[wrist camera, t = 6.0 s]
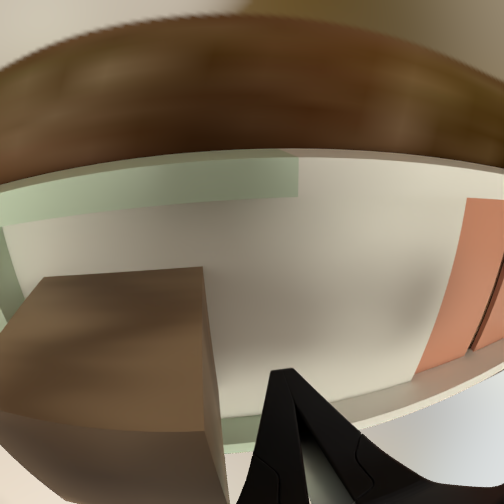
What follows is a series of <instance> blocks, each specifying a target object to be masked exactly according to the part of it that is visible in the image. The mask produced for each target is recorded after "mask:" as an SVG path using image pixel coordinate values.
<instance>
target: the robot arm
mask: <svg viewBox="0 0 504 504" xmlns="http://www.w3.org/2000/svg"><path fill="white" fill-rule="evenodd" d="M308 495H309V497H308ZM309 498H310V501H311V504H504V484H502V485H499V486H495V487H472V486H459V485H450V484H441V483H436V482H433V481H430V480H427V479H425V478H424V477H422V476H420V475H418V474H417V473H415V472H414V471H412V470H410V469H409V468H407V467H406V466H404V465H403V464H401V463H400V462H398V461H397V460H395V459H394V458H392V457H391V456H389V455H388V454H386V453H385V452H384V451H382V450H381V449H380V448H379V447H377V446H376V445H375V444H374V443H373V442H371V441H370V440H369V439H368V438H367V437H366V436H365V435H364V434H361V432H360V431H359V430H358V429H357V428H356V427H355V426H354V425H352V424H351V423H350V422H349V421H348V420H347V419H346V418H345V417H344V416H343V415H342V414H341V413H340V412H338V411H337V410H336V409H335V408H334V407H333V406H332V405H331V404H330V403H329V402H328V401H327V400H326V399H325V398H324V397H323V396H322V395H321V394H320V393H318V392H317V391H316V390H315V389H314V388H313V387H312V386H311V385H310V384H309V383H308V382H307V381H306V380H305V379H304V378H303V377H302V376H301V375H300V374H299V373H298V372H297V371H296V370H295V369H294V368H284V369H277V370H271V371H270V375H269V380H268V385H267V390H266V395H265V400H264V405H263V409H262V414H261V419H260V424H259V428H258V433H257V438H256V442H255V447H254V451H253V456H252V459H251V464H250V468H249V471H248V475H247V478H246V481H245V484H244V487H243V489H242V492H241V494H240V496H239V499H238V501H237V503H236V504H309Z"/></svg>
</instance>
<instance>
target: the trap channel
mask: <svg viewBox="0 0 504 504" xmlns="http://www.w3.org/2000/svg"><path fill="white" fill-rule="evenodd" d="M503 253H504V169H503V168H498V167H493V166H487V165H482V164H476V163H470V162H464V161H458V160H451V159H444V158H436V157H429V156H420V155H411V154H401V153H390V152H377V151H362V150H342V149H302V148H280V149H241V150H220V151H205V152H192V153H180V154H169V155H160V156H151V157H143V158H135V159H127V160H120V161H113V162H107V163H100V164H94V165H88V166H83V167H77V168H72V169H67V170H62V171H57V172H52V173H47V174H43V175H38V176H34V177H30V178H25V179H21V180H17V181H13V182H10V183H6V184H2V185H0V333H1V331H2V330H3V329H4V327H5V326H6V324H7V323H8V322H9V320H10V319H11V318H12V316H13V315H14V314H15V312H16V311H17V310H18V308H19V307H20V306H21V304H22V303H23V302H24V301H25V299H26V298H27V297H28V296H29V294H30V293H31V292H32V291H33V289H34V288H35V287H36V286H37V284H38V283H39V282H40V281H41V280H42V278H43V277H50V276H67V275H83V274H98V273H114V272H129V271H143V270H158V269H172V268H186V267H200V266H203V274H204V283H205V292H206V301H207V309H208V317H209V325H210V333H211V341H212V348H213V355H214V362H215V369H216V376H217V383H218V390H219V402H220V414H221V426H222V436H223V447H224V454H230V453H241V452H250V451H254V447H255V442H256V438H257V433H258V428H259V424H260V419H261V414H262V409H263V405H264V400H265V395H266V390H267V385H268V380H269V375H270V371H271V370H277V369H284V368H294V369H295V370H296V371H297V372H298V373H299V374H300V375H301V376H302V377H303V378H304V379H305V380H306V381H307V382H308V383H309V384H310V385H311V386H312V387H313V388H314V389H315V390H316V391H317V392H318V393H320V394H321V395H322V396H323V397H324V398H325V399H326V400H327V401H328V402H329V403H330V404H331V405H332V406H333V407H334V408H335V409H336V410H337V411H338V412H340V413H341V414H342V415H343V416H344V417H345V418H346V419H347V420H348V421H349V422H350V423H351V424H352V425H354V426H355V427H356V428H357V429H358V430H361V429H365V428H368V427H371V426H374V425H378V424H381V423H384V422H387V421H390V420H393V419H396V418H399V417H401V416H404V415H407V414H410V413H412V412H415V411H417V410H420V409H422V408H425V407H427V406H430V405H432V404H435V403H437V402H439V401H442V400H444V399H446V398H448V397H451V396H453V395H455V394H457V393H459V392H461V391H463V390H465V389H467V388H469V387H471V386H473V385H475V384H477V383H479V382H481V381H483V380H485V379H487V378H488V377H490V376H492V375H494V374H496V373H497V372H499V371H501V370H503V369H504V263H503V266H502V269H501V272H500V275H499V279H498V282H497V285H496V287H495V290H494V293H493V296H492V299H491V301H490V304H489V307H488V309H487V312H486V314H485V317H484V319H483V321H482V324H481V326H480V328H479V331H478V333H477V335H476V337H475V340H474V342H473V344H472V346H471V348H470V349H468V347H469V345H470V343H471V341H472V339H473V336H474V334H475V332H476V330H477V327H478V325H479V323H480V320H481V318H482V315H483V313H484V310H485V308H486V305H487V302H488V300H489V297H490V294H491V291H492V289H493V286H494V283H495V280H496V277H497V274H498V270H499V267H500V264H501V260H502V257H503ZM467 349H468V350H467Z"/></svg>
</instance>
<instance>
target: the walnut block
mask: <svg viewBox="0 0 504 504" xmlns="http://www.w3.org/2000/svg"><path fill="white" fill-rule="evenodd" d="M0 445H1V446H2V447H3V448H4V449H5V450H6V451H7V452H8V453H9V454H10V455H11V456H12V457H13V458H14V459H16V460H17V461H18V462H19V463H20V464H21V465H22V466H23V467H24V468H25V469H27V470H28V471H29V472H30V473H31V474H32V475H33V476H35V477H36V478H37V479H38V480H39V481H41V482H42V483H43V484H44V485H46V486H47V487H48V488H49V489H51V490H52V491H53V492H55V493H56V494H57V495H59V496H60V497H61V498H63V499H64V500H65V501H69V502H73V503H77V504H230V500H229V493H228V484H227V475H226V466H225V457H224V447H223V436H222V426H221V414H220V402H219V390H218V383H217V376H216V369H215V362H214V355H213V348H212V341H211V333H210V325H209V317H208V309H207V301H206V292H205V283H204V274H203V266H200V267H186V268H172V269H158V270H143V271H129V272H114V273H98V274H83V275H67V276H50V277H43V278H42V280H41V281H40V282H39V283H38V284H37V286H36V287H35V288H34V289H33V291H32V292H31V293H30V294H29V296H28V297H27V298H26V299H25V301H24V302H23V303H22V304H21V306H20V307H19V308H18V310H17V311H16V312H15V314H14V315H13V316H12V318H11V319H10V320H9V322H8V323H7V324H6V326H5V327H4V329H3V330H2V331H1V333H0Z"/></svg>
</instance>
